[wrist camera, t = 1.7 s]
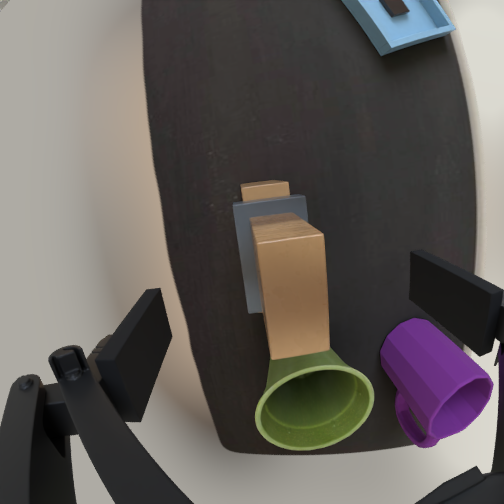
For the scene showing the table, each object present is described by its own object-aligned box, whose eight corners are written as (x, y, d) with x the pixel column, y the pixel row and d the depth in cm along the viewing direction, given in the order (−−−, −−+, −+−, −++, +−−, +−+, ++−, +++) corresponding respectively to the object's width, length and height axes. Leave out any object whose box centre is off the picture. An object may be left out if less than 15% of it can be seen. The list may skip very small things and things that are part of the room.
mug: (438, 312, 37) (504, 365, 23) (415, 397, 41) (458, 459, 27) (383, 320, 37) (443, 386, 22) (365, 409, 41) (401, 480, 26)
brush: (232, 202, 23) (229, 223, 13) (300, 193, 23) (343, 208, 13) (247, 303, 25) (254, 379, 15) (309, 294, 25) (348, 362, 15)
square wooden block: (240, 184, 32) (241, 187, 23) (273, 179, 32) (288, 181, 23) (252, 275, 35) (258, 313, 25) (284, 270, 35) (301, 306, 25)
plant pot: (255, 309, 36) (263, 364, 25) (351, 314, 37) (389, 363, 26) (245, 389, 38) (249, 451, 28) (331, 390, 39) (354, 447, 28)
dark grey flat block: (378, -1, 26) (380, -4, 25) (394, -4, 26) (397, -7, 25) (391, 17, 27) (394, 14, 26) (407, 13, 27) (410, 11, 26)
